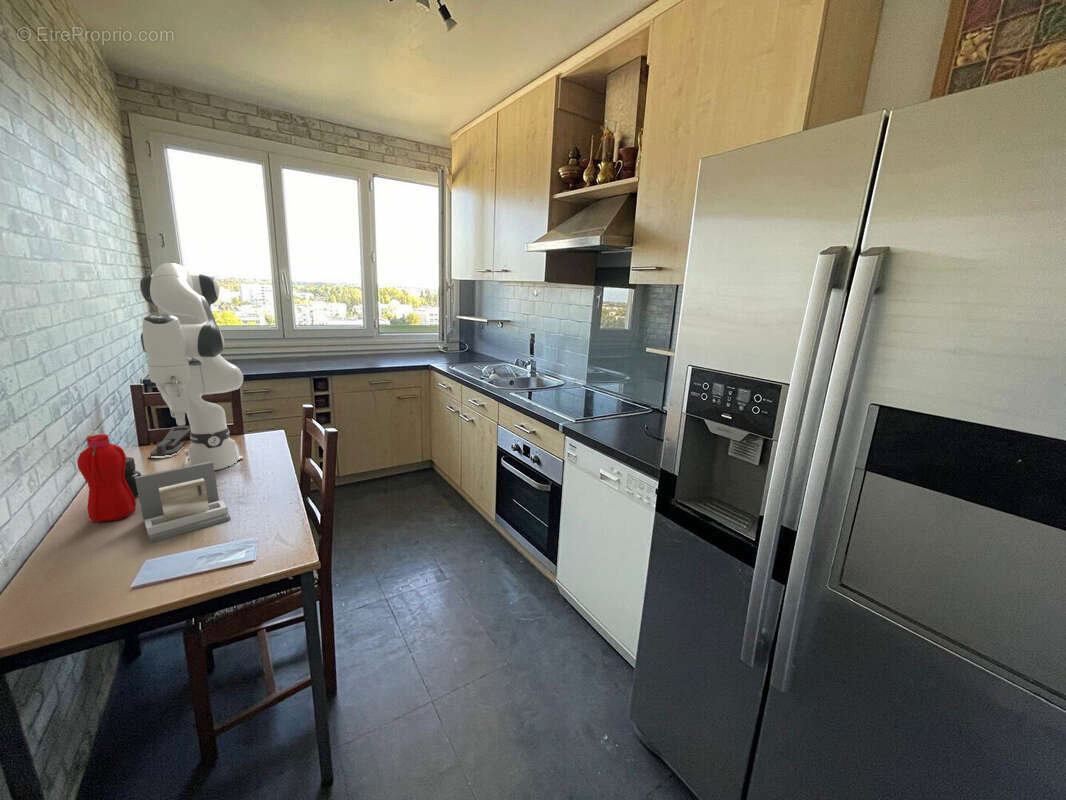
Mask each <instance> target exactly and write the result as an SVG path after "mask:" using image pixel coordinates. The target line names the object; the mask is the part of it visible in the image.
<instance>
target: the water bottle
mask: <svg viewBox="0 0 1066 800" xmlns="http://www.w3.org/2000/svg"><path fill="white" fill-rule="evenodd" d="M86 442H87V446H88V447H87V448H85V449H84V450H83V451H82V452H80V454H79V456H78V457H77V460H76V463H77V469H78V470H79V472H80V474H81V475H82V477H83V479H84V480H85V482H86V483H87V486H88V497H87V506H86V508H87V513H88V517H89V518H88V519H89V520H90V521H91V522H93V523H103V522H105V523H106V522H111V521H119V520H122V519H124V518H125V519H126V518H127V517H128V516H130V515H131V514H132V513H133V511H135V510H136V505H137V502H136V497H134V495H133V493H132V491H131V490H130V488H129V486H128V484H127V482H126V481H125V464H126V457H127V455H126V454H125V451H124V449H123V448H122V447H121V446H119V445H117V444H114V443H113V444H112V443H110V439H109V436H108V434H103V433H102V434H93V435H91V436H87V437H86Z"/></svg>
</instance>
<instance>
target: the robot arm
mask: <svg viewBox="0 0 1066 800" xmlns="http://www.w3.org/2000/svg"><path fill="white" fill-rule="evenodd" d="M139 291H140V294H141V296H142V297H143V298H144V301H145V302H147V303H148V304H150V305H152V306H156V307H157V308H158V309H160V310H162V311H163V312H165V313H168V314H161V313H160V314H152V315H147V316H146V317H143V319H142V333H140V342H141V347H142V351H143V352H145V353H146V355H147V363H146V364H147V368H148V369H147V370H148V373H149V379H150V382H151V383H153V384H155V385H156V386H155V387H156V388H157V390H158V392H159V394H160V395H161V398H162V399H163V401H164V402H165V404H166V405H167V406H168V408H169V411H170V416H171V417H172V418H174V419H175V420H176V421H175V422H176V425H177V426H186V416H187V419H188V423H189V426H190V428H191V430H190V431H189V438H190V445H189V447H188V449H185V450H184V454H185V456H187V457H185V461H184V466H183V467H185V466H190V465H195V464H200V463H205V462H210V461H212V462H213V465H214V471H217V470H222V469H226V468H228V466H229V467H232V466H233V465H235V464H236V463H238V462H239V461H238V460H240V459H242V458H243V459H244V457H243V455H240V454H238V450H237V445H236V444H237V443H236V441H235V440H234V439H233V438H230V430H229V427H228V426H227V418H226V412H225V409H224V408H223V407H222V406H221V405H219V404H217V403H214V402H209V401H206V400H204V399H203V398H202V396H206V395H212V394H213V395H214V394H224V393H229V392H232V391H235V390H239V389H240V388H241V386H243V383H244V374H243V372H242V370H241V368H239V367H238V366H237V365H235V364H233V363H231V362H229V361H228V360H226V359H225V358H224V357H223V356H222V355H221V354H222V352H223V351H224V348H225V338H224V335H223V332H222V331H221V329H220V328H219V325H218V324H217V321H216V318H215V317H214V314H213V311H212V309H211V306H212V305H213V304H215V303H216V302H217V301H218V300H219V295H220V286H219V283H218V282H217V281H216V280H215V278H214V276H212V275H211V274H207V273H202V272H201V273H192V272H189V271H188V270H187V269H186V268H185V267H184V266H182V265H180V264H178V263H173V262H164V263H162V264H160V265H158V266H157V267H156V269H155V270H154V272H153V274H149V275H144V276H143V277H142V278H141V279H140V280H139ZM188 358H193V359H196V360H198V361H199V362H200V363H201V364H198V365H190V363H189V359H188ZM243 459H242V460H243ZM237 461H238V462H237ZM240 461H241V460H240ZM234 463H235V464H234Z"/></svg>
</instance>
